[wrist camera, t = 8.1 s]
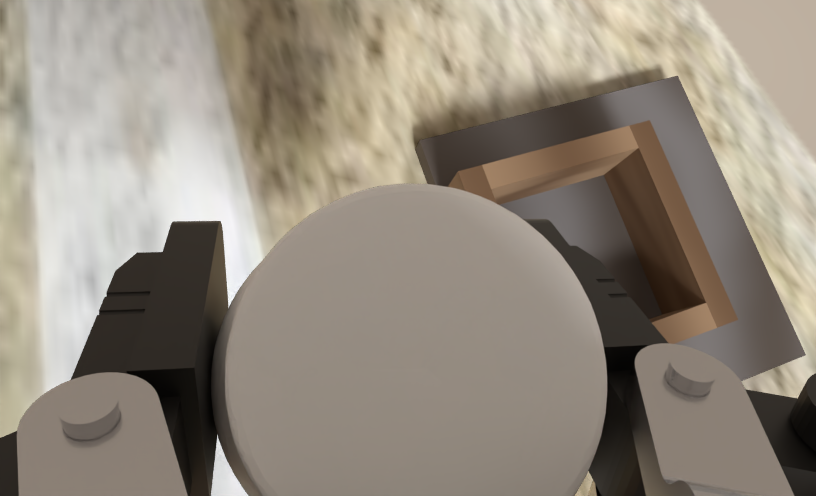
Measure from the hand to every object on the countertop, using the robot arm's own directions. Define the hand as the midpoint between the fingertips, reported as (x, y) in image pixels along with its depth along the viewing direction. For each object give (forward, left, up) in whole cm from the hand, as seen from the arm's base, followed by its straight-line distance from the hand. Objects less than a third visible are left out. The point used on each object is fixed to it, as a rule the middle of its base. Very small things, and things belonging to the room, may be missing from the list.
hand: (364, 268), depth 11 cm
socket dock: (+13, 0, -15) cm, 20 cm away
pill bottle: (-1, -2, -4) cm, 5 cm away
